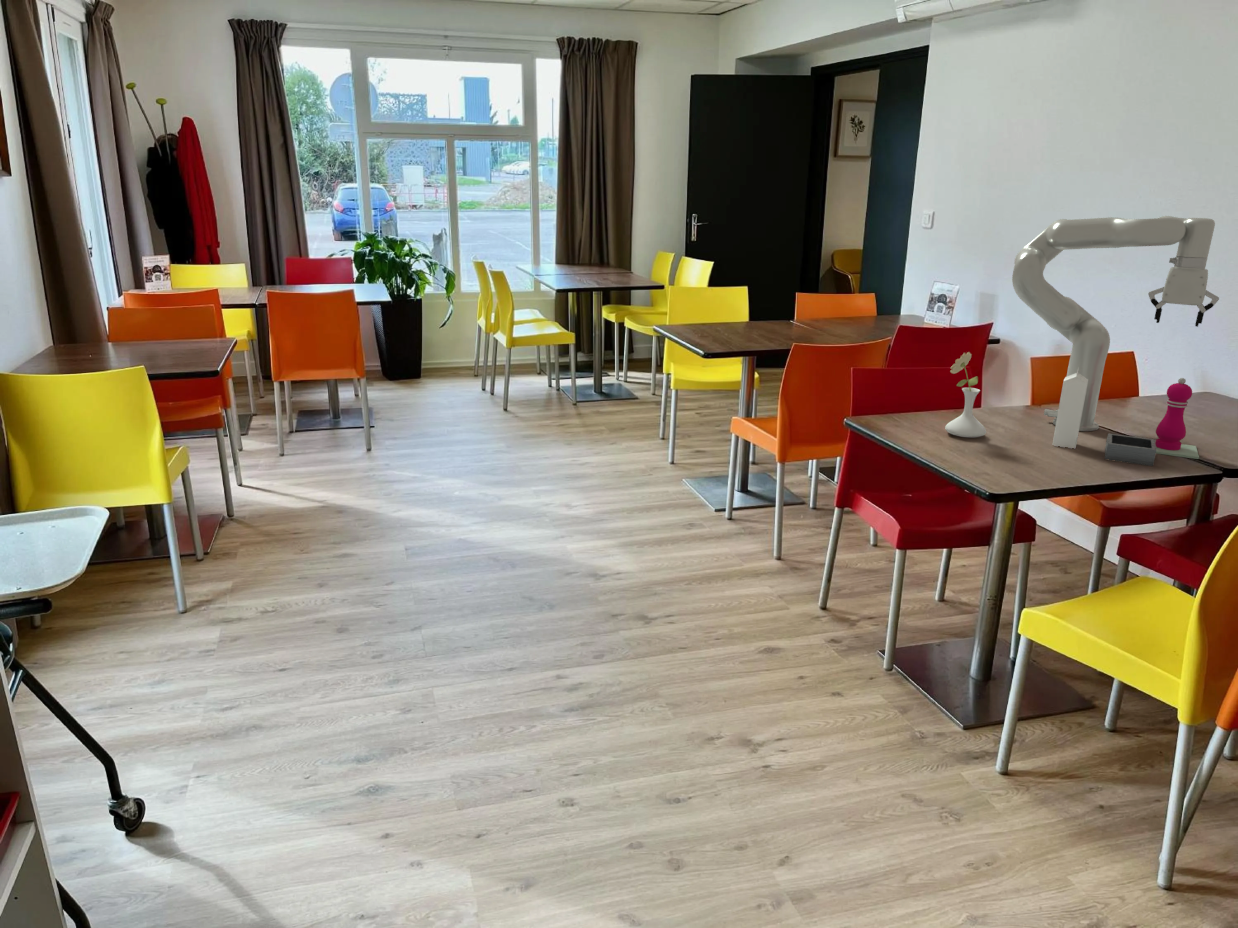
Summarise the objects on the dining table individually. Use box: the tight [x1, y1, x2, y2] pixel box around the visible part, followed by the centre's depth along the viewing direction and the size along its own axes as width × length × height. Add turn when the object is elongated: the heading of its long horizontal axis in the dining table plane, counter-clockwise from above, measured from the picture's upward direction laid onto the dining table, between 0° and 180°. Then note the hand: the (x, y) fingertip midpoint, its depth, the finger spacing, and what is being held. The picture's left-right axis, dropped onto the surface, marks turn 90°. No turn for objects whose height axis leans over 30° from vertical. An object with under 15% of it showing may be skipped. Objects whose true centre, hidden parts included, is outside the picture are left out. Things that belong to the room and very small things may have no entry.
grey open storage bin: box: [1104, 433, 1156, 467], centre depth 241 cm, size 11×11×4 cm
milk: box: [1052, 368, 1088, 450], centre depth 249 cm, size 6×6×22 cm
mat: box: [1155, 440, 1200, 460], centre depth 249 cm, size 14×12×1 cm
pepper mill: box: [1155, 377, 1193, 450], centre depth 246 cm, size 7×7×20 cm
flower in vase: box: [944, 351, 987, 438], centre depth 256 cm, size 13×11×25 cm
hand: (1176, 324), depth 254 cm, fingers open, 9 cm apart
